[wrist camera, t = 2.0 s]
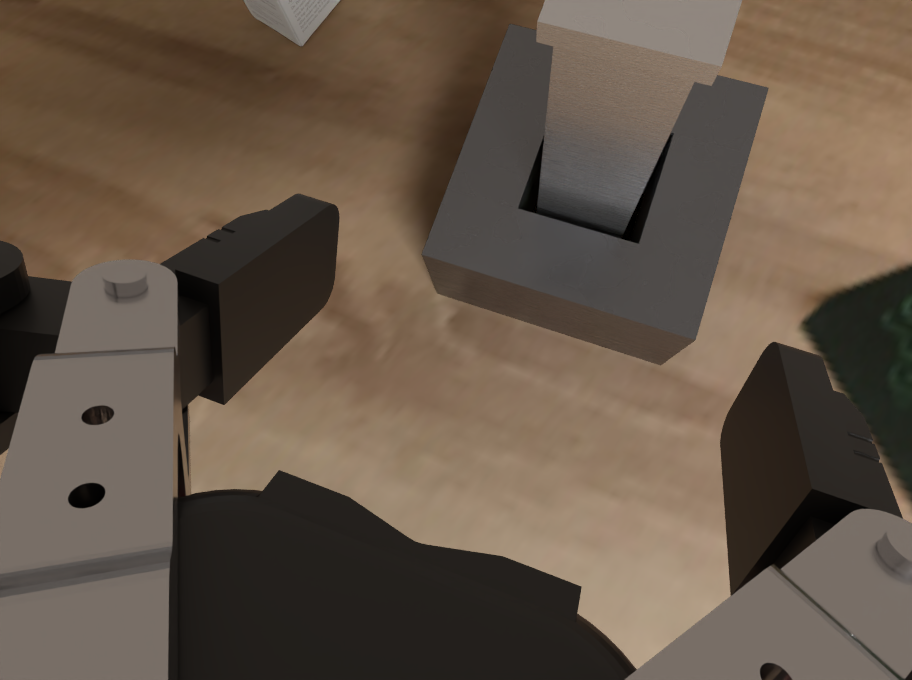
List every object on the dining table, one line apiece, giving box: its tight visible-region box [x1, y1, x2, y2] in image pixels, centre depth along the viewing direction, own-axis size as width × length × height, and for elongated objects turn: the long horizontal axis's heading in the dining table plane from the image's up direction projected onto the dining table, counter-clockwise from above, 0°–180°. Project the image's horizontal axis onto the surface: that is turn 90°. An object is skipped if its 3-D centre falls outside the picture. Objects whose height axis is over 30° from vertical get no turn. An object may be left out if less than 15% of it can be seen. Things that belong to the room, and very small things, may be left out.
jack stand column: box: [536, 0, 742, 239], centre depth 25 cm, size 5×5×17 cm
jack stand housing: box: [422, 24, 768, 365], centre depth 30 cm, size 12×12×6 cm
